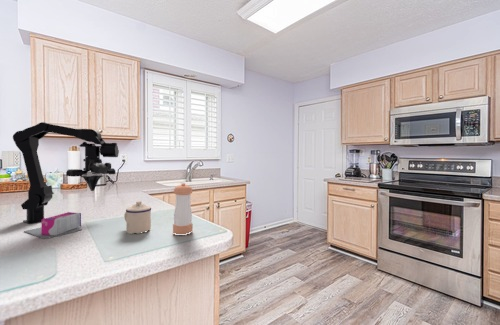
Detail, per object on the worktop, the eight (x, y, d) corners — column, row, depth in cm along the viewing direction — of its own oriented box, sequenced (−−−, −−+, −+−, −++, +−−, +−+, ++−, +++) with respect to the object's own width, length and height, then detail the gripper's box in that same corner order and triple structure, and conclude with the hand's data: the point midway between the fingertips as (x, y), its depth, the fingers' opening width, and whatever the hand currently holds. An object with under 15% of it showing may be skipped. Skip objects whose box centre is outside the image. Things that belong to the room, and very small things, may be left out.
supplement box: (81, 212, 96) (55, 220, 85) (81, 226, 96) (55, 236, 85) (68, 211, 97) (40, 219, 85) (68, 225, 97) (40, 235, 86)
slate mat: (24, 231, 90) (24, 230, 90) (61, 224, 100) (61, 223, 100) (44, 239, 82) (44, 238, 82) (81, 230, 93) (81, 229, 93)
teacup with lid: (156, 229, 96) (156, 200, 95) (137, 235, 87) (137, 204, 87) (134, 225, 100) (134, 198, 100) (114, 231, 92) (115, 201, 92)
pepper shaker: (168, 234, 90) (169, 183, 89) (181, 229, 96) (181, 182, 96) (184, 237, 87) (185, 185, 86) (196, 231, 94) (196, 183, 93)
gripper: (79, 157, 97) (79, 195, 97) (122, 157, 113) (122, 189, 114) (65, 156, 102) (65, 192, 102) (108, 157, 119) (108, 188, 119)
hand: (92, 190), depth 109 cm, fingers closed
